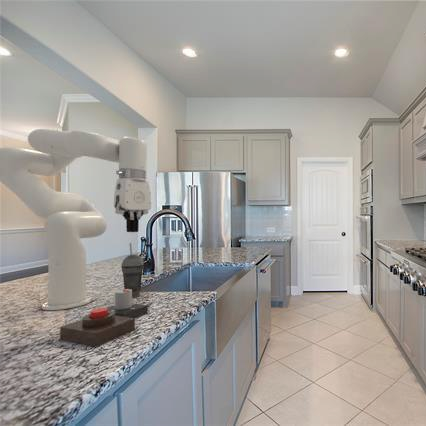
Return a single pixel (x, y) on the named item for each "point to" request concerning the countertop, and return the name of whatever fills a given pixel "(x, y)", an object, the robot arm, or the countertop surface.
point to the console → (130, 310)
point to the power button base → (97, 329)
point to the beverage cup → (132, 273)
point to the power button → (99, 313)
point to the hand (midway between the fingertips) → (132, 231)
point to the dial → (123, 299)
